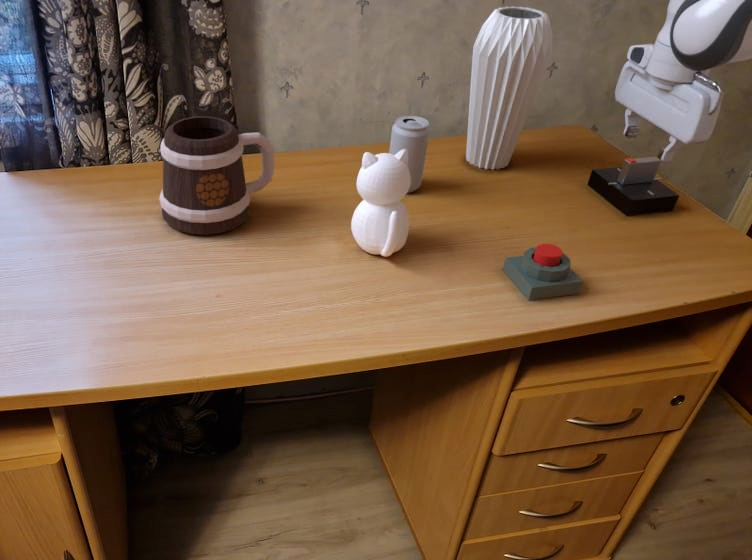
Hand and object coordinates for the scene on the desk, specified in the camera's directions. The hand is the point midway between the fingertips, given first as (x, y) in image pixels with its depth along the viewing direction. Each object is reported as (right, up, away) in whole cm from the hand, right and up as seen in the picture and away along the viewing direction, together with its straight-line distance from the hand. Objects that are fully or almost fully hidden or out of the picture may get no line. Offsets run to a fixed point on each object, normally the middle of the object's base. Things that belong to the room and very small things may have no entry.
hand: (646, 147), depth 114 cm
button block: (-24, -24, -14) cm, 37 cm away
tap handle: (0, -5, +4) cm, 6 cm away
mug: (-72, -11, +1) cm, 73 cm away
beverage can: (-40, -5, +9) cm, 41 cm away
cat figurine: (-46, -18, -7) cm, 50 cm away
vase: (-21, +3, +17) cm, 28 cm away
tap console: (0, -7, +6) cm, 9 cm away
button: (-24, -21, -17) cm, 36 cm away
